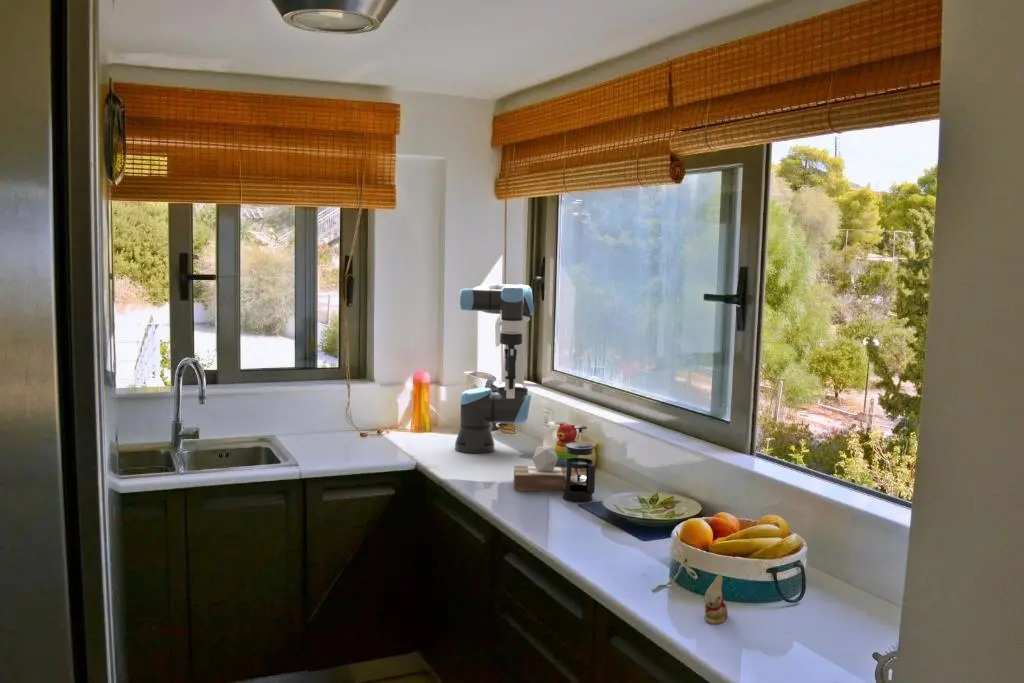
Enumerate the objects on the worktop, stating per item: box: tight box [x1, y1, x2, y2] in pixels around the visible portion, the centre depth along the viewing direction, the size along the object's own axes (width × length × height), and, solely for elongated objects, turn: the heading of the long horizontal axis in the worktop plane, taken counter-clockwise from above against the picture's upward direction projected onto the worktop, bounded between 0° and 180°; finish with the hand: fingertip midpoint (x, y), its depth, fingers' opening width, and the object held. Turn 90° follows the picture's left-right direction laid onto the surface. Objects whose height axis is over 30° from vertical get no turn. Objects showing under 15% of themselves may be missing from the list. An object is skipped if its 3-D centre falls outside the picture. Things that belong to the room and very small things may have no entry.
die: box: [531, 445, 558, 472], centre depth 296 cm, size 8×9×10 cm
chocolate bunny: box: [703, 574, 728, 626], centre depth 194 cm, size 6×8×10 cm
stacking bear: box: [553, 423, 579, 475], centre depth 311 cm, size 11×10×18 cm
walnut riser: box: [513, 465, 578, 492], centre depth 297 cm, size 12×20×5 cm, turn 91°
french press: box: [562, 425, 596, 503], centre depth 282 cm, size 12×9×23 cm
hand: (509, 394), depth 308 cm, fingers open, 13 cm apart
